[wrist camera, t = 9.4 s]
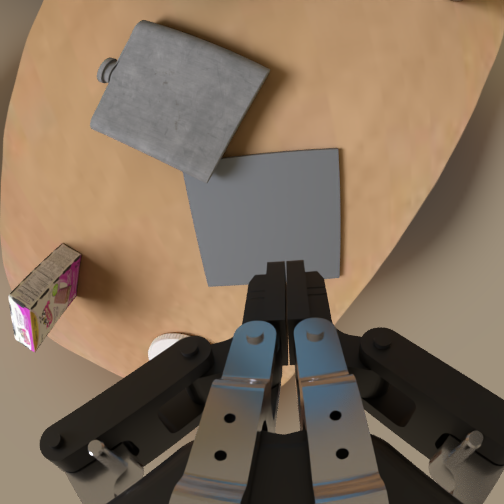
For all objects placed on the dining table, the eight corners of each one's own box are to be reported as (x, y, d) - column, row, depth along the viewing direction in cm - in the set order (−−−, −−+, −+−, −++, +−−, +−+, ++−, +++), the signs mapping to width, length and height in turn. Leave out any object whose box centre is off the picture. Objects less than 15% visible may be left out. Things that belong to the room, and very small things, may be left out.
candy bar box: (78, 296, 51) (35, 354, 37) (58, 285, 50) (14, 339, 36) (83, 253, 46) (29, 311, 32) (62, 241, 45) (6, 294, 31)
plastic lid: (231, 370, 57) (230, 379, 55) (175, 379, 61) (173, 388, 59) (197, 322, 52) (193, 332, 49) (138, 336, 55) (134, 345, 53)
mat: (183, 163, 38) (181, 165, 37) (336, 148, 35) (338, 149, 35) (209, 283, 47) (208, 286, 46) (338, 274, 44) (339, 277, 44)
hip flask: (204, 186, 35) (73, 123, 31) (210, 179, 38) (89, 121, 35) (270, 67, 28) (124, 13, 25) (270, 72, 32) (137, 21, 28)
